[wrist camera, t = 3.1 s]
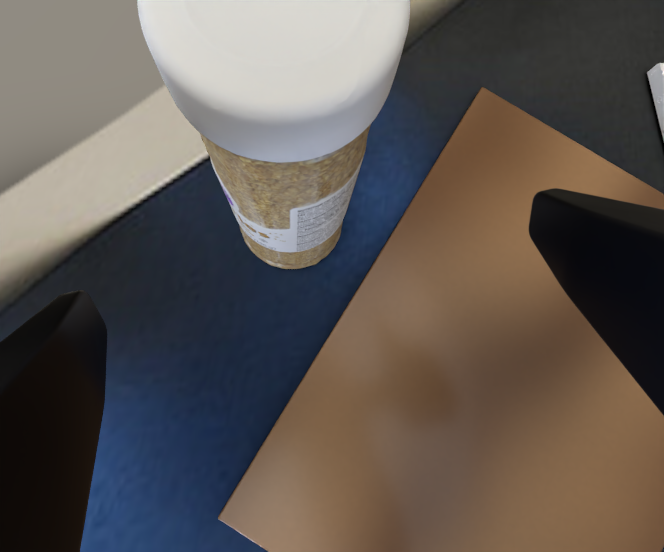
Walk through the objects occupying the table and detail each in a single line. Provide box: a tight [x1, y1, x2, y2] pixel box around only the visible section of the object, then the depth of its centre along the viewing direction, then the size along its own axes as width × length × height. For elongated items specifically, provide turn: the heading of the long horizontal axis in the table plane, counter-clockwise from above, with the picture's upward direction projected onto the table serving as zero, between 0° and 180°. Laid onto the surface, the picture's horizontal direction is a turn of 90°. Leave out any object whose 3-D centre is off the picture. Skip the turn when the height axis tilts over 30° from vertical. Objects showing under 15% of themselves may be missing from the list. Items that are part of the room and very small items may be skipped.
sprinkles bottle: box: [137, 0, 410, 269], centre depth 14 cm, size 5×5×14 cm
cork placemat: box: [218, 87, 664, 552], centre depth 20 cm, size 16×22×1 cm
